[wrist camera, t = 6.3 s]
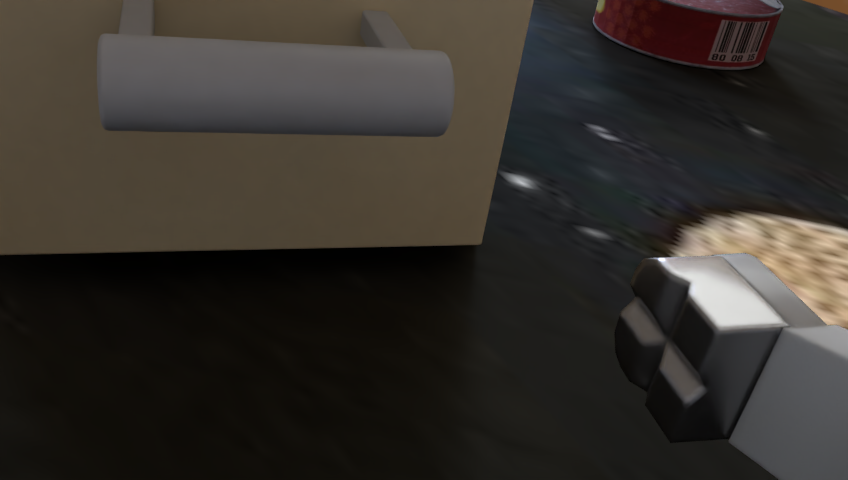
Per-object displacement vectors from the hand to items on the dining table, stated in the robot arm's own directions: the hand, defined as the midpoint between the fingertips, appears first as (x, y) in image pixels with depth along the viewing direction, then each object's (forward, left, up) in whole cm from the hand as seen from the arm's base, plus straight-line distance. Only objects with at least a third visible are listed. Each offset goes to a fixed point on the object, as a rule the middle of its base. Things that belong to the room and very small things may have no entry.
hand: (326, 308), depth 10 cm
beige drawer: (0, +15, -6) cm, 16 cm away
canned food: (+26, +33, -7) cm, 42 cm away
